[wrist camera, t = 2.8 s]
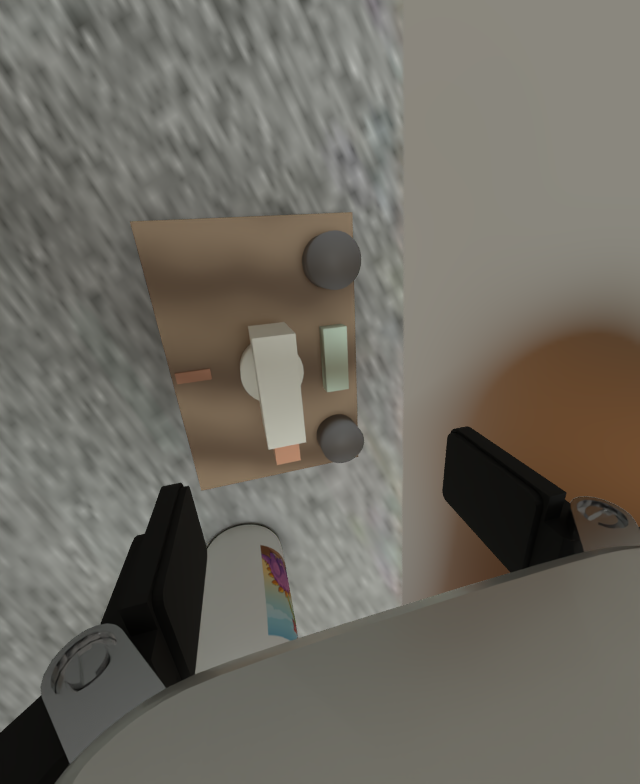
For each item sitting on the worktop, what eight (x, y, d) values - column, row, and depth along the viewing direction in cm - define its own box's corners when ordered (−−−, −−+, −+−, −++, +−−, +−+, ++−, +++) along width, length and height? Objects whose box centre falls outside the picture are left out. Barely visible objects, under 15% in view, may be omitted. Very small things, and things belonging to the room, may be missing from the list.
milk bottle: (203, 583, 33) (171, 969, 15) (204, 525, 30) (166, 905, 12) (277, 574, 35) (328, 899, 17) (284, 518, 32) (352, 832, 14)
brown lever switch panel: (138, 225, 21) (119, 216, 17) (342, 216, 24) (363, 207, 20) (203, 476, 28) (199, 506, 25) (350, 445, 31) (366, 469, 28)
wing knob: (232, 322, 22) (232, 341, 17) (293, 316, 23) (313, 331, 18) (250, 430, 25) (256, 474, 20) (303, 420, 26) (322, 460, 21)
